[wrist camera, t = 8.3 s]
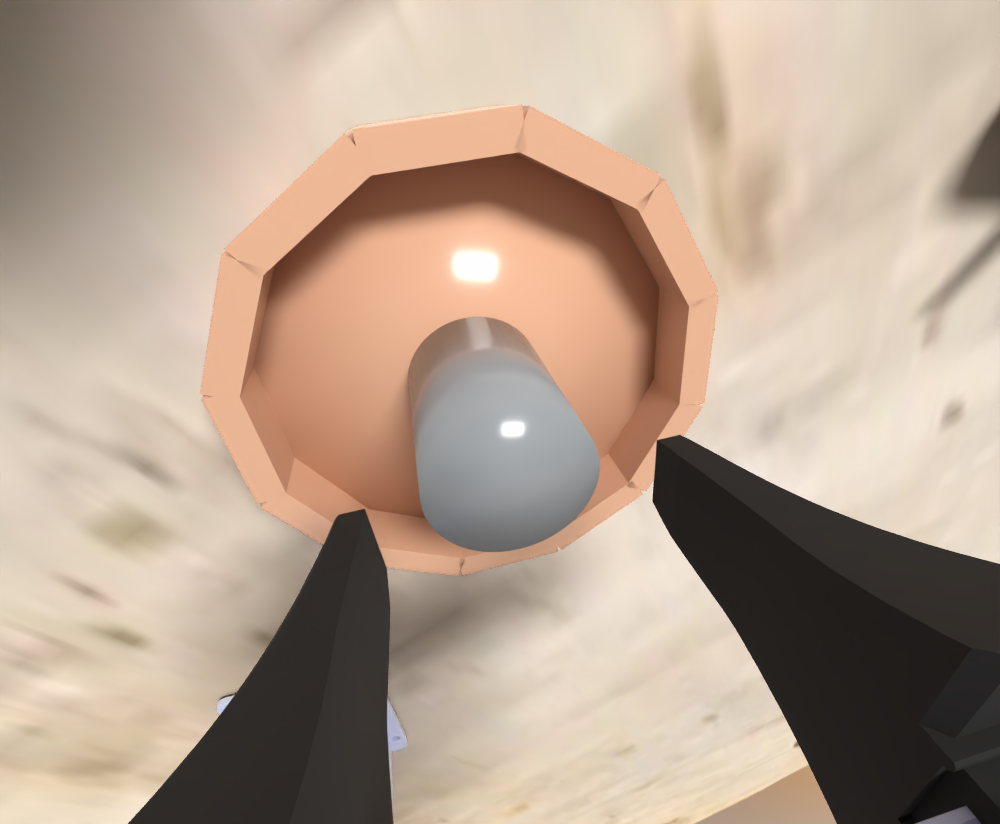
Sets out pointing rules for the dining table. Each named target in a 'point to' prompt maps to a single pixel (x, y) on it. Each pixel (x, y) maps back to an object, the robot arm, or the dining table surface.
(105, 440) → the dining table surface
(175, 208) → the dining table surface
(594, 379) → the bowl
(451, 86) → the dining table surface
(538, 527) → the grey cylinder
